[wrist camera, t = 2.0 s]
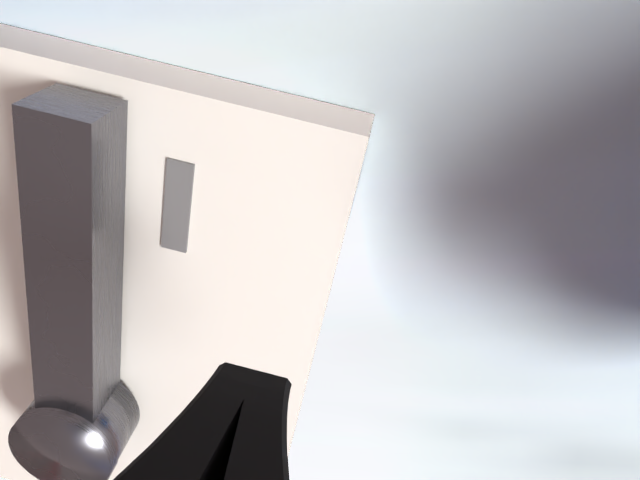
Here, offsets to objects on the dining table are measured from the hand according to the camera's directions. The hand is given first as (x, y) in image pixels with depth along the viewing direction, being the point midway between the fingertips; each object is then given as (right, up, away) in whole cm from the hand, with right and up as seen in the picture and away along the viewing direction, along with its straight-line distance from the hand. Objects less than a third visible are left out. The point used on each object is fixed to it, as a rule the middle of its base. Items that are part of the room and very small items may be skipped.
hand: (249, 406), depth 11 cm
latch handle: (-6, +1, +8) cm, 10 cm away
